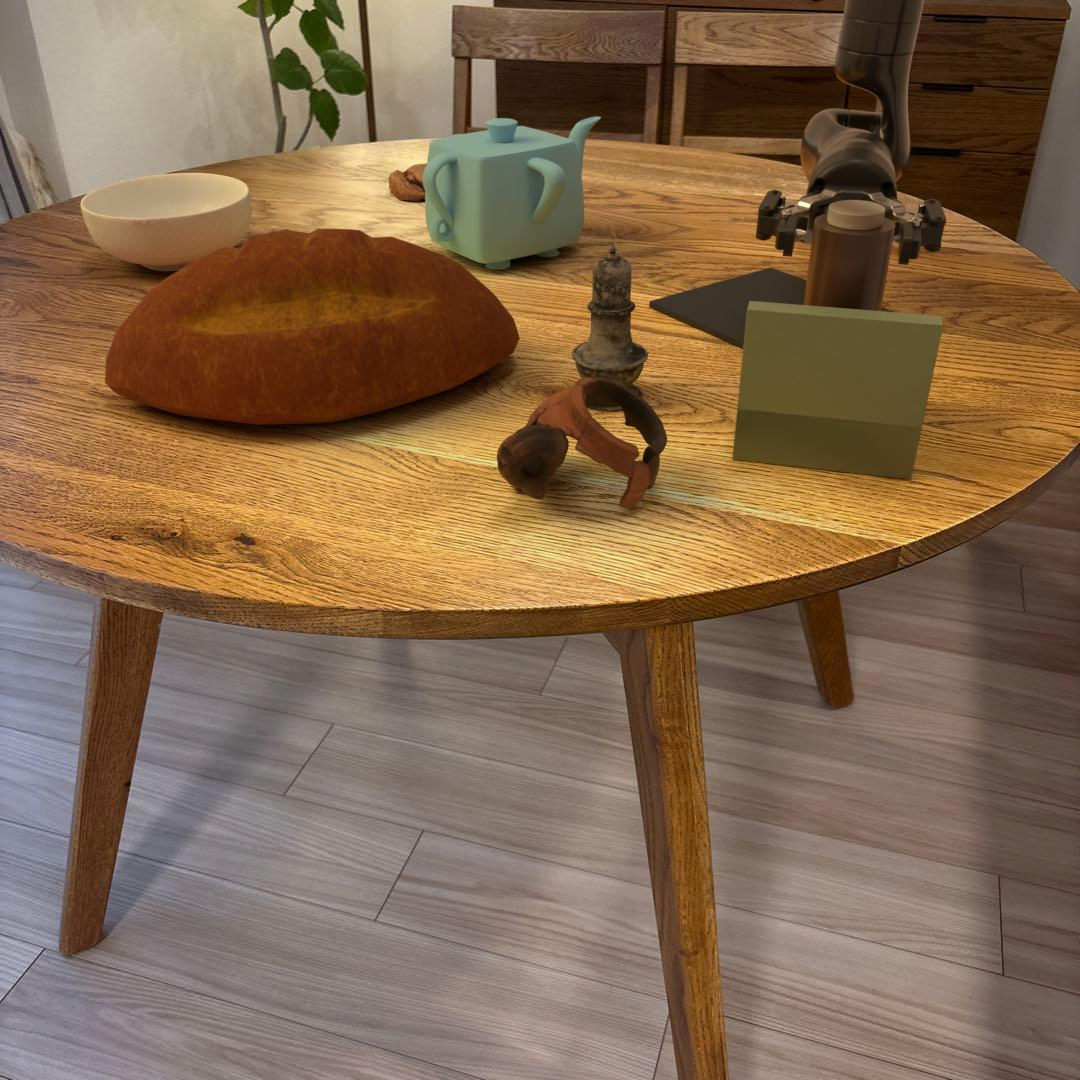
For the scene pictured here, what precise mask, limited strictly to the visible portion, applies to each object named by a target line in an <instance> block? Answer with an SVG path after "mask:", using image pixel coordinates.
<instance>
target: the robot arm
mask: <svg viewBox="0 0 1080 1080" xmlns="http://www.w3.org/2000/svg"><path fill="white" fill-rule="evenodd" d="M924 5H925V0H845V5H844V9H843V15H842V21H841V25H840V32H839V37H838V43H837V46H836V47H837V48H836V53H835V59H834V76H835V77H836V78H837V80H839V81H840V82H842V83H843V84H845V85H848V86H851V87H854V88H857V89H859V90H863V91H866V92H868V93H870V94H871V95H874V97H876V99H877V100H878V101H879V103H880V108H881V111H880V112H879V111H878V112H876V111H875V112H874V111H867V110H866V111H865V110H856V109H855V110H854V109H845V108H827V109H824V110H821V111H819V112H817V113H816V114H815V115H813V116H812V117H811V118H810V120H809V121H808V122H807V125H806V126H805V129H804V131H803V133H802V137H801V142H800V151H799V153H800V154H799V155H800V164H801V168H802V171H803V174H804V177H805V179H806V181H808V184H807V189H806V193H805V195H803V196H801V197H799V199H798V201H794V200H793V201H792V200H786V199H787V197H786V196H785V195H783V192H782V191H781V190H778V189H771V190H768V191H766V194H765V196H764V197H763V199H762V200H761V203H760V204H759V206H758V210H757V221H756V231H755V239H756V240H759V241H764V242H765V241H768V240H771V239H772V237H775V242H774V244H775V245H774V248H775V250H777V251H782V257H790V258H791V257H793V253H794V248H795V245H796V244H795V243H798V242H799V243H802V244H805V245H811V242H812V235H813V227H814V220H815V219H816V218H817V217H818V216H820V215H823V214H827V213H828V207H829V205H830V204H831V203H833V202H837V201H842V200H862V201H869V202H873V203H877V204H880V205H882V206H883V207H884V208H885V215H884V217H885V218H888V219H890V220H891V221H893V222H894V223H895V232H894V237H893V243H892V249H896V250H897V263H898V265H902V266H903V265H904V266H908V265H909V264H910V260H917V259H918V258H920V257H919V256H920V251H921V247H922V248H923V250H924V251H926V252H930V253H937V252H940V251H941V249H942V240H943V235H944V232H945V231H944V230H945V226H946V224H947V217H946V213H945V212H944V210H943V209H944V208H943V207H942V204H941V201H939V200H937V199H934V198H929V199H924V200H923V203H919V204H918V208H913V207H912V208H911V207H906V205H905V204H904V203H903V202H902V201H901V200H899V199H898V185H897V183H898V181H899V179H900V178H901V177H902V176H903V174H904V173H905V171H906V170H907V167H908V163H909V161H910V154H911V134H910V133H911V132H910V121H909V120H910V119H909V81H910V73H911V72H910V71H911V66H912V61H913V55H914V51H915V46H916V42H917V38H918V32H919V28H920V23H921V19H922V15H923V11H924Z"/></svg>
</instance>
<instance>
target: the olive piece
mask: <svg viewBox="0 0 1080 1080" xmlns="http://www.w3.org/2000/svg"><path fill="white" fill-rule="evenodd" d="M943 329H944V321H943V315H934V314H921V313H910V312H897V311H894V312H885V311H872V310H859V309H846V308H834V307H821V306H808V305H795V304H783V303H770V302H757V301H749V305H748V308H747V316H746V326H745V336H744V346H743V348H742V357H741V368H740V377H739V387H738V397H737V407H736V416H735V428H734V437H733V446H732V458H731V459H732V460H733V461H742V462H743V461H744V462H754V463H760V464H761V463H762V464H770V465H771V464H772V465H780V466H788V467H795V468H796V467H797V468H805V469H806V468H807V469H815V470H825V471H832V472H840V473H851V474H858V475H869V476H877V477H886V478H894V479H904V480H912V478H913V472H914V468H915V463H916V458H917V454H918V453H917V452H918V449H919V443H920V439H921V435H922V430H923V425H924V420H925V416H926V410H927V405H928V401H929V396H930V392H931V386H932V382H933V376H934V372H935V368H936V362H937V357H938V354H939V353H938V352H939V349H940V343H941V340H942V339H941V338H942V333H943Z"/></svg>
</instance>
